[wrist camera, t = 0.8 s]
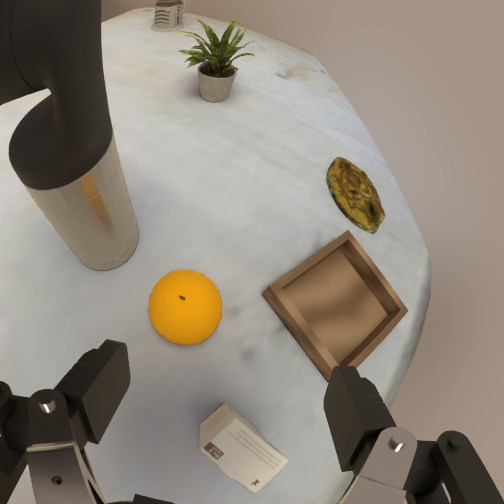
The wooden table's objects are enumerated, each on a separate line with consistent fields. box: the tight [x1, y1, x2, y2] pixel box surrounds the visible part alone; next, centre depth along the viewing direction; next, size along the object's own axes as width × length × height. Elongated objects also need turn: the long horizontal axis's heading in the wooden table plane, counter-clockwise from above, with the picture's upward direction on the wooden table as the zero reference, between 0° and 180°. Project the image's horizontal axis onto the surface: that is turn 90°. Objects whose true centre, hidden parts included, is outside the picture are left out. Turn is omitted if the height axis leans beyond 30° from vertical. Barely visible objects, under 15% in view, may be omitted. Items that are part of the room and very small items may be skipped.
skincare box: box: [198, 402, 289, 494], centre depth 23 cm, size 6×4×12 cm
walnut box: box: [262, 230, 408, 383], centre depth 35 cm, size 14×14×4 cm
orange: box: [149, 270, 222, 345], centre depth 30 cm, size 8×8×8 cm
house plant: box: [180, 18, 254, 102], centre depth 43 cm, size 14×14×16 cm
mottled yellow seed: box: [327, 157, 385, 234], centre depth 44 cm, size 9×5×15 cm
